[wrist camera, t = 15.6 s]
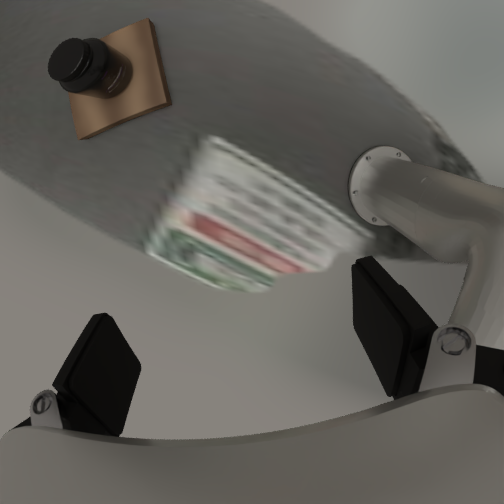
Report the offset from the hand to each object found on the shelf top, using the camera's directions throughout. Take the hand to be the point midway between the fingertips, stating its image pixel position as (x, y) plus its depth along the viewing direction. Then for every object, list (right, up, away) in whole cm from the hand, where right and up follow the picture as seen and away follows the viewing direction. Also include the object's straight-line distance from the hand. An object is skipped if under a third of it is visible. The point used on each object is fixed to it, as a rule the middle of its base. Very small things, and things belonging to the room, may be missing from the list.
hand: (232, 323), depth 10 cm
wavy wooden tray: (-19, +27, +20) cm, 39 cm away
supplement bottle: (-18, +26, +18) cm, 36 cm away
